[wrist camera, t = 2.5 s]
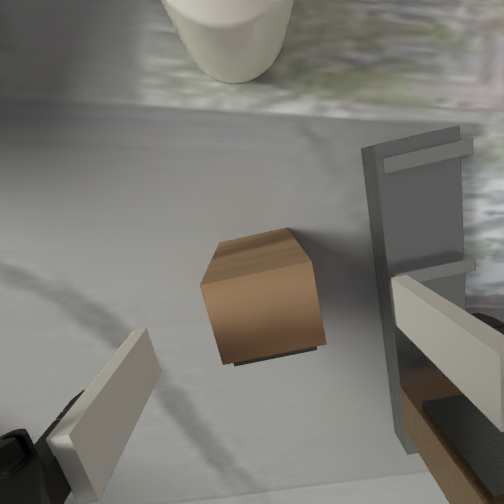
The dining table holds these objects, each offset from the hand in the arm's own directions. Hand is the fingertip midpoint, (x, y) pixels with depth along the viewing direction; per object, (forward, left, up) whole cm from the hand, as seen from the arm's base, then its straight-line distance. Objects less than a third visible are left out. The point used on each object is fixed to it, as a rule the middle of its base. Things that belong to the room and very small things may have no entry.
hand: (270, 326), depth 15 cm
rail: (+7, +13, -11) cm, 18 cm away
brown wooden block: (0, 0, -11) cm, 11 cm away
